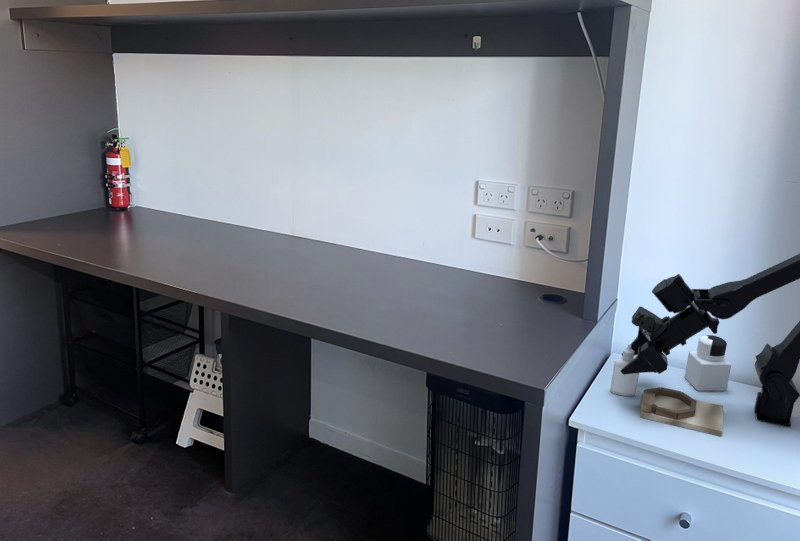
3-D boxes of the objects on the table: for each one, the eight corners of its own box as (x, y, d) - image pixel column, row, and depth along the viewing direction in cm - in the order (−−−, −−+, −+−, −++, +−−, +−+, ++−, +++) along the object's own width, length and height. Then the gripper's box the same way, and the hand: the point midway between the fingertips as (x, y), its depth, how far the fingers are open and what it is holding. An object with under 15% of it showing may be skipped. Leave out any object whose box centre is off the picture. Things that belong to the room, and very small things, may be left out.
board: (722, 410, 147) (726, 389, 146) (721, 436, 137) (725, 414, 135) (644, 393, 154) (647, 373, 152) (637, 416, 144) (640, 395, 142)
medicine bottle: (712, 377, 163) (720, 332, 159) (726, 391, 156) (736, 344, 152) (683, 377, 162) (691, 332, 159) (697, 391, 156) (705, 344, 152)
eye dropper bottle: (629, 400, 151) (636, 351, 147) (607, 391, 155) (613, 343, 151) (638, 393, 154) (645, 346, 150) (616, 385, 157) (623, 338, 154)
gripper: (656, 286, 154) (601, 323, 161) (659, 313, 137) (597, 353, 144) (687, 322, 154) (631, 358, 161) (693, 354, 137) (630, 392, 144)
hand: (622, 364), depth 152 cm, fingers open, 9 cm apart
